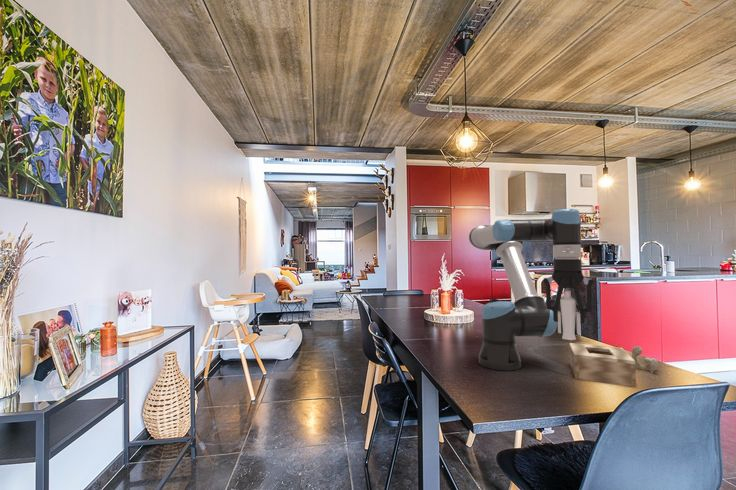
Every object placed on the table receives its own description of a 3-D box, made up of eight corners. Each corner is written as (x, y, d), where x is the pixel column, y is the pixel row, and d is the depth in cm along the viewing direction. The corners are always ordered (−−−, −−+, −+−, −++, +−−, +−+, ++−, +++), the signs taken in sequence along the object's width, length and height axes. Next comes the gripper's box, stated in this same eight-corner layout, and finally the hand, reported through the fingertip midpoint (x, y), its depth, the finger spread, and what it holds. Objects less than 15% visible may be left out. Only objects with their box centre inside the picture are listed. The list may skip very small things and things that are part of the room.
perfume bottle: (556, 336, 102) (555, 289, 102) (569, 336, 102) (568, 289, 103) (566, 340, 97) (565, 291, 98) (579, 340, 98) (578, 291, 98)
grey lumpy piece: (672, 369, 110) (657, 344, 110) (661, 380, 109) (645, 355, 109) (646, 363, 118) (632, 340, 118) (635, 373, 117) (621, 350, 117)
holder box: (575, 378, 107) (574, 354, 107) (570, 364, 121) (569, 342, 121) (636, 386, 99) (635, 360, 100) (623, 370, 114) (622, 347, 114)
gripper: (535, 258, 101) (537, 332, 100) (603, 258, 93) (605, 339, 93) (535, 258, 108) (537, 327, 107) (598, 258, 100) (600, 333, 99)
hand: (568, 332), depth 100 cm, fingers closed on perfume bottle, 4 cm apart
